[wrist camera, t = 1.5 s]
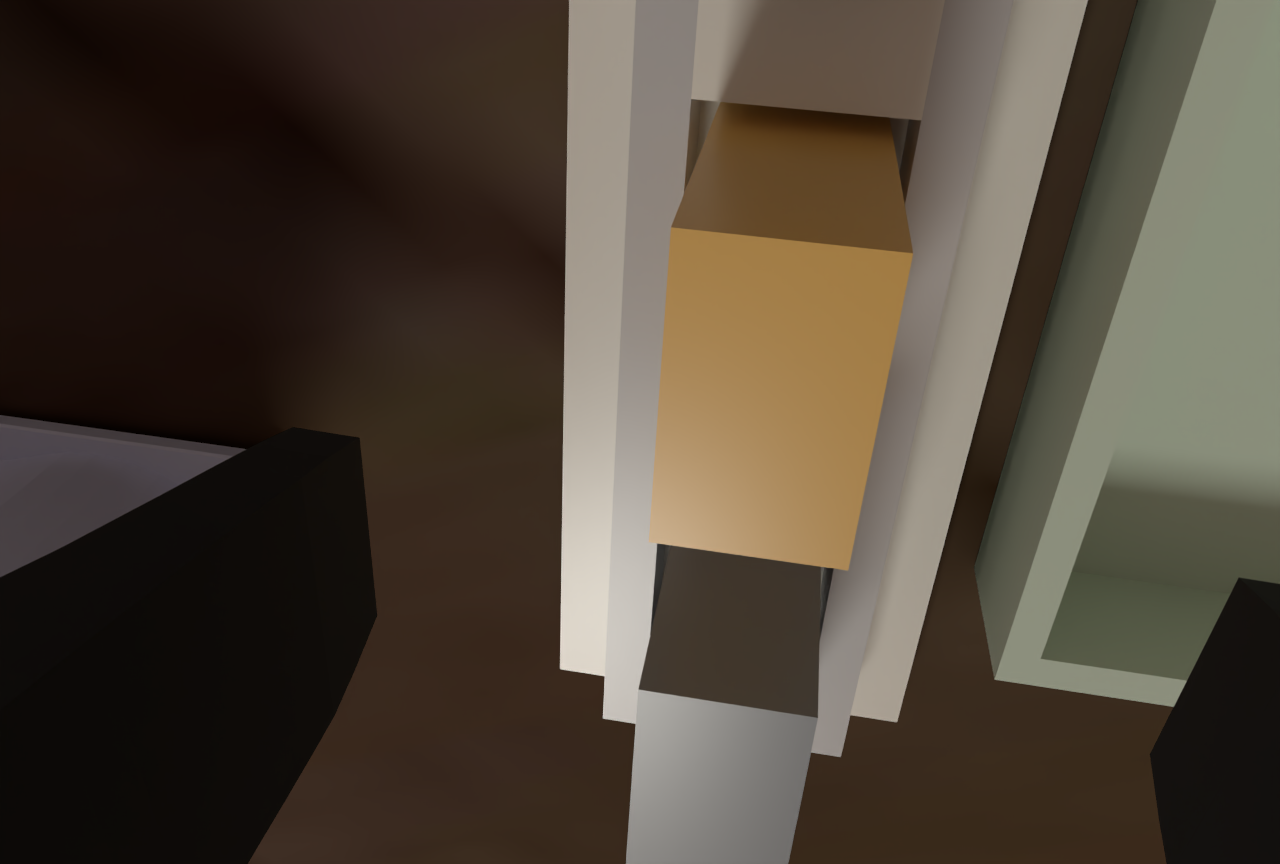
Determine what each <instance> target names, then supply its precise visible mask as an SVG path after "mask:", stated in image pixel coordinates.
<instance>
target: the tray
mask: <svg viewBox="0 0 1280 864" xmlns="http://www.w3.org/2000/svg"><path fill="white" fill-rule="evenodd" d="M974 570H975V575H976V581H977V586H978V592H979V597H980V603H981V608H982V613H983V619H984V624H985V630H986V635H987V641H988V646H989V652H990V657H991V663H992V668H993V674H994V679H995V680H1001V681H1008V682H1014V683H1021V684H1028V685H1034V686H1041V687H1047V688H1054V689H1061V690H1067V691H1074V692H1080V693H1087V694H1094V695H1100V696H1107V697H1113V698H1120V699H1126V700H1133V701H1140V702H1146V703H1153V704H1159V705H1166V706H1173V707H1174V706H1175V704H1176V702H1177V700H1178V698H1179V696H1180V694H1181V692H1182V690H1183V688H1184V686H1185V684H1186V682H1187V680H1188V678H1189V676H1190V674H1191V672H1192V670H1193V668H1194V666H1195V664H1196V662H1197V660H1198V658H1199V656H1200V654H1201V652H1202V650H1203V648H1204V646H1205V644H1206V642H1207V640H1208V638H1209V636H1210V634H1211V632H1212V630H1213V628H1214V626H1215V624H1216V622H1217V620H1218V618H1219V616H1220V614H1221V612H1222V610H1223V608H1224V606H1225V604H1226V602H1227V600H1228V598H1229V596H1230V594H1231V592H1232V590H1233V588H1234V586H1235V584H1236V582H1237V580H1238V578H1239V577H1240V578H1246V579H1252V580H1258V581H1265V582H1271V583H1277V584H1280V0H1138V1H1137V5H1136V8H1135V12H1134V15H1133V19H1132V22H1131V26H1130V29H1129V33H1128V36H1127V40H1126V43H1125V46H1124V50H1123V53H1122V57H1121V60H1120V64H1119V67H1118V71H1117V74H1116V78H1115V81H1114V85H1113V88H1112V92H1111V95H1110V98H1109V102H1108V105H1107V109H1106V112H1105V116H1104V119H1103V123H1102V126H1101V130H1100V133H1099V137H1098V140H1097V143H1096V147H1095V150H1094V154H1093V157H1092V161H1091V164H1090V168H1089V171H1088V175H1087V178H1086V182H1085V185H1084V189H1083V192H1082V195H1081V199H1080V202H1079V206H1078V209H1077V213H1076V216H1075V220H1074V223H1073V227H1072V230H1071V234H1070V237H1069V241H1068V244H1067V247H1066V251H1065V254H1064V258H1063V261H1062V265H1061V268H1060V272H1059V275H1058V279H1057V282H1056V286H1055V289H1054V292H1053V296H1052V299H1051V303H1050V306H1049V310H1048V313H1047V317H1046V320H1045V324H1044V327H1043V331H1042V334H1041V338H1040V341H1039V344H1038V348H1037V351H1036V355H1035V358H1034V362H1033V365H1032V369H1031V372H1030V376H1029V379H1028V383H1027V386H1026V389H1025V393H1024V396H1023V400H1022V403H1021V407H1020V410H1019V414H1018V417H1017V421H1016V424H1015V428H1014V431H1013V435H1012V438H1011V441H1010V445H1009V448H1008V452H1007V455H1006V459H1005V462H1004V466H1003V469H1002V473H1001V476H1000V480H999V483H998V487H997V490H996V493H995V497H994V500H993V504H992V507H991V511H990V514H989V518H988V521H987V525H986V528H985V532H984V535H983V538H982V542H981V545H980V549H979V552H978V556H977V559H976V563H975V566H974Z"/></svg>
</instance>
